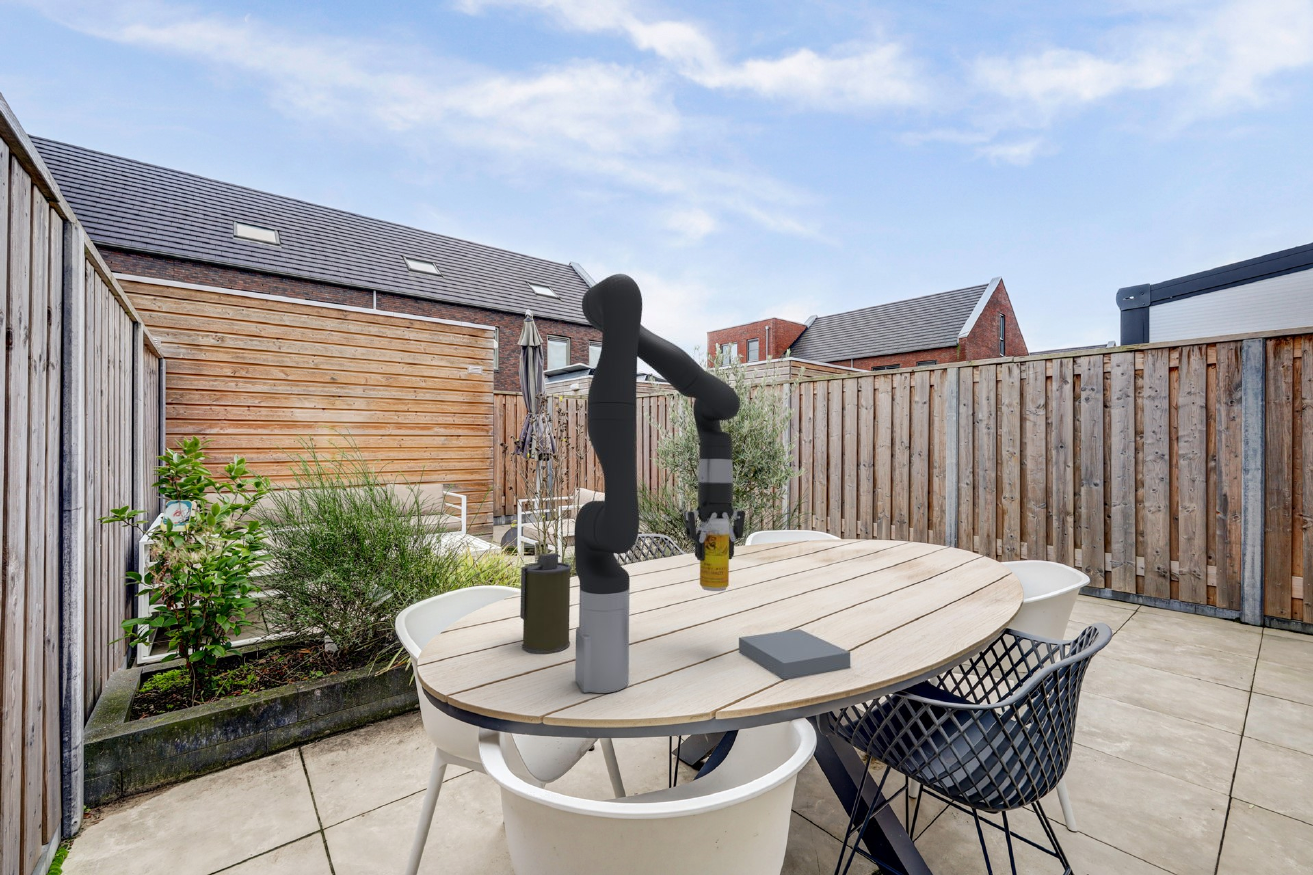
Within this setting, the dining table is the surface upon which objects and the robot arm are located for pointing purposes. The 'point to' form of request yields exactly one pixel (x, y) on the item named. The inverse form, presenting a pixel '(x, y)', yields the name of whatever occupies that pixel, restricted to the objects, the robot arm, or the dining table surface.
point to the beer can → (715, 556)
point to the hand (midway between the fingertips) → (714, 559)
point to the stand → (794, 653)
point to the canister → (545, 605)
